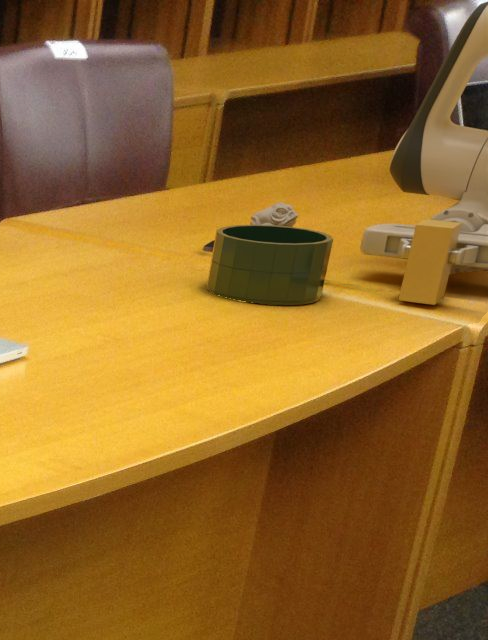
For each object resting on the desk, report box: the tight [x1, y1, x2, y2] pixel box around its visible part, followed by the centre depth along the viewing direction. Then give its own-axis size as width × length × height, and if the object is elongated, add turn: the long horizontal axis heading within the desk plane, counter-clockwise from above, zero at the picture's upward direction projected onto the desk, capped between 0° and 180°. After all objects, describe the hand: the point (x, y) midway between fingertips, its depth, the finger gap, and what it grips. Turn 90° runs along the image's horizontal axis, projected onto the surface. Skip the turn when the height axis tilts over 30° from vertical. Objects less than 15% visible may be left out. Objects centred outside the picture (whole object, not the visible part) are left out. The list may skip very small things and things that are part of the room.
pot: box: [206, 224, 334, 306], centre depth 209 cm, size 15×15×8 cm
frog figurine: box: [249, 202, 299, 227], centre depth 238 cm, size 6×7×7 cm
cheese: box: [398, 218, 462, 306], centre depth 205 cm, size 4×5×10 cm
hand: (430, 255), depth 203 cm, fingers closed on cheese, 4 cm apart
